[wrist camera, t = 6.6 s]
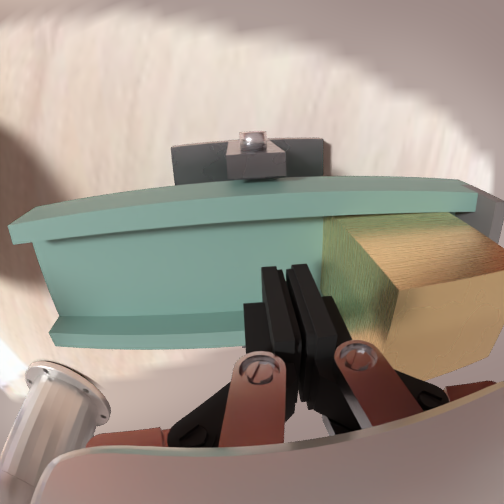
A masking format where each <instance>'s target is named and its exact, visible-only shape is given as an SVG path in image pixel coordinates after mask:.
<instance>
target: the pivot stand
mask: <svg viewBox="0 0 504 504" xmlns="http://www.w3.org/2000/svg"><path fill="white" fill-rule="evenodd" d="M239 137H240V140H229V141H217V142H205V143H195V144H186V145H177V146H173V147H171V154H172V164H173V173H174V181H175V186H177V185H186V184H197V183H208V182H220V181H233V180H247V179H264V178H286V177H317V176H323V139H322V138H267V136H266V131H249V132H240V133H239ZM242 348H246V346H242Z"/></svg>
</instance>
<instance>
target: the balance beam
mask: <svg viewBox="0 0 504 504" xmlns="http://www.w3.org/2000/svg"><path fill="white" fill-rule="evenodd" d="M423 212H449V213H450V214H452V215H454V216H455V217H457V218H459V219H460V220H462V221H463V222H465V223H467V224H468V225H470V226H471V227H473V228H475V229H476V230H478V231H479V232H481V233H482V234H484V235H485V236H487V237H488V238H490V239H491V240H493V241H494V242H496V243H497V244H498V242H499V238H500V234H501V230H502V225H503V221H504V201H503V200H501V199H499V198H497V197H495V196H493V195H491V194H489V193H487V192H485V191H483V190H480V189H478V188H476V187H474V186H472V185H469V184H467V183H465V182H463V181H460V180H455V179H440V178H420V177H390V176H317V177H286V178H264V179H247V180H233V181H220V182H208V183H197V184H186V185H177V186H167V187H159V188H150V189H142V190H134V191H127V192H120V193H113V194H106V195H100V196H93V197H87V198H81V199H75V200H70V201H64V202H59V203H53V204H48V205H43V206H38V207H35V208H33V209H32V210H30V211H29V212H27V213H26V214H24V215H23V216H21V217H20V218H18V219H17V220H15V221H14V222H12V223H11V224H9V225H8V229H9V233H10V236H11V239H12V243H13V245H15V244H22V243H30V242H32V243H33V247H34V250H35V253H36V256H37V259H38V262H39V265H40V268H41V271H42V273H43V276H44V279H45V282H46V284H47V287H48V290H49V292H50V295H51V297H52V300H53V302H54V304H55V307H56V309H57V312H58V314H59V317H58V319H57V321H56V322H55V324H54V325H53V327H52V328H51V330H50V331H49V334H50V336H51V338H52V340H53V342H54V344H55V346H61V347H76V348H96V349H140V350H152V349H197V348H218V347H234V346H246V345H245V328H244V310H243V303H256V302H262V280H261V267H268V266H276V267H277V270H280V269H282V270H283V274H284V277H285V281H286V269H291V265H294V264H307V265H308V267H309V269H310V272H311V274H312V276H313V278H314V281H315V283H316V285H317V288H318V290H319V292H320V294H321V297H322V296H323V294H322V292H321V289H320V283H321V266H322V245H323V216H337V215H360V214H387V213H423Z"/></svg>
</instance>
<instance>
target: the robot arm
mask: <svg viewBox="0 0 504 504" xmlns="http://www.w3.org/2000/svg"><path fill="white" fill-rule="evenodd" d="M261 280H262V302H256V303H243V310H244V328H245V345H246V355H244V356H242V357H241V358H239V360H238V361H237V362H236V363H235V366H234V368H233V373H232V378H231V382H230V383H228V384H227V385H226V386H224V387H223V388H222V389H221V390H219V391H218V392H217V393H216V394H214V395H213V396H212V397H210V398H209V399H208V400H206V401H205V402H204V403H203V404H201V405H200V406H199V407H197V408H196V409H195V410H193V411H192V412H191V413H189V414H188V415H186V416H185V417H184V418H182V419H181V420H180V421H178V422H177V423H176V424H175V425H174V426H173V427H172V428H171V429H166V430H161V428H160V427H158V428H150V429H143V430H134V431H125V432H114V433H102V434H98V435H95V436H94V432H95V428H96V426H100V425H103V424H105V423H107V421H108V420H109V417H110V413H111V410H110V405H109V403H108V401H107V400H106V398H105V396H104V395H103V394H102V393H101V392H100V391H99V390H98V389H97V388H96V387H95V386H94V385H93V384H92V383H90V382H89V381H88V380H86V379H85V378H84V377H82V376H80V375H79V374H77V373H76V372H74V371H72V370H70V369H68V368H66V367H63V366H61V365H58V364H55V363H52V362H46V361H37V362H34V363H32V364H31V365H30V366H29V367H28V369H27V371H26V373H25V380H26V383H27V386H28V387H29V389H30V390H29V392H28V394H27V396H26V398H25V400H24V403H23V405H22V407H21V409H20V411H19V413H18V415H17V417H16V420H15V422H14V424H13V426H12V429H11V431H10V433H9V436H8V438H7V440H6V443H5V446H4V448H3V450H2V453H1V455H0V504H504V381H502V382H499V383H496V382H494V381H482V382H476V383H470V384H462V385H454V386H446V387H445V388H444V390H442V389H441V388H439V387H437V386H435V385H433V384H430V383H428V382H425V381H422V380H420V379H417V378H415V377H412V376H410V375H407V374H405V373H402V372H400V371H397V370H395V369H393V368H392V366H391V365H390V364H389V362H388V361H387V360H386V358H385V357H384V356H383V354H382V353H381V351H380V350H379V349H378V348H377V347H376V346H375V345H373V344H371V343H369V342H366V341H363V340H352V338H351V335H350V333H349V331H348V329H347V327H346V325H345V322H344V320H343V318H342V316H341V314H340V312H339V310H338V308H337V305H336V303H335V301H334V299H333V298H332V296H322V297H321V294H320V292H319V290H318V288H317V285H316V283H315V281H314V278H313V276H312V274H311V272H310V269H309V267H308V265H307V264H294V265H291V269H286V281H285V277H284V274H283V270H282V269H280V270H277V267H276V266H268V267H261ZM298 391H299V395H300V400H301V402H307V406H308V410H311V409H314V410H315V411H317V412H318V413H320V414H322V419H323V423H324V425H325V427H326V429H327V431H328V433H329V436H328V437H322V438H316V439H310V440H303V441H296V442H288V443H284V429H285V422H286V421H287V420H288V419H289V418H290V417H291V416H292V414H294V411H295V403H297V396H298Z"/></svg>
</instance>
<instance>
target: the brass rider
mask: <svg viewBox="0 0 504 504" xmlns="http://www.w3.org/2000/svg"><path fill="white" fill-rule="evenodd" d="M320 289H321V292H322V294H323V296H332V298H333V299H334V301H335V303H336V305H337V308H338V310H339V312H340V314H341V316H342V318H343V320H344V322H345V325H346V327H347V329H348V331H349V333H350V335H351V338H352V340H363V341H366V342H369V343H371V344H373V345H375V346H376V347H377V348H378V349H379V350H380V351H381V353H382V354H383V356H384V357H385V358H386V360H387V361H388V362H389V364H390V365H391V366H392V368H393V369H395V370H397V371H400V372H402V373H405V374H407V375H410V376H412V377H415V378H417V379H420V380H422V381H426V380H429V379H431V378H435V377H438V376H440V375H443V374H446V373H449V372H452V371H454V370H457V369H459V368H462V367H465V366H467V365H469V364H472V363H474V362H477V361H479V360H482V359H484V358H486V357H488V356H489V354H490V352H491V350H492V348H493V346H494V344H495V342H496V340H497V338H498V336H499V334H500V332H501V330H502V327H503V325H504V248H503V247H501V246H500V245H498V244H497V243H496V242H494V241H493V240H491V239H490V238H488V237H487V236H485V235H484V234H482V233H481V232H479V231H478V230H476V229H475V228H473V227H471V226H470V225H468V224H467V223H465V222H463V221H462V220H460V219H459V218H457V217H455V216H454V215H452V214H450V213H449V212H423V213H387V214H360V215H337V216H323V245H322V266H321V283H320Z"/></svg>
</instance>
